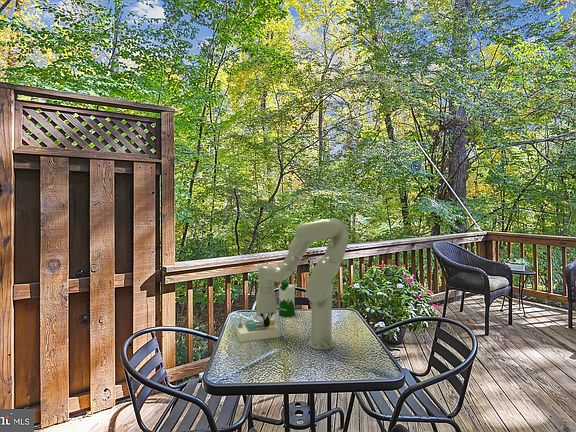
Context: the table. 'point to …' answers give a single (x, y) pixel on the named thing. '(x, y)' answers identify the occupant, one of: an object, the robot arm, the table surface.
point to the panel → (256, 331)
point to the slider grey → (249, 321)
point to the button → (272, 322)
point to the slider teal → (251, 325)
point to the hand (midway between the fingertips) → (266, 326)
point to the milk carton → (286, 299)
